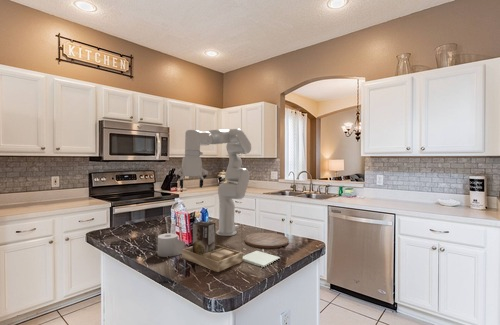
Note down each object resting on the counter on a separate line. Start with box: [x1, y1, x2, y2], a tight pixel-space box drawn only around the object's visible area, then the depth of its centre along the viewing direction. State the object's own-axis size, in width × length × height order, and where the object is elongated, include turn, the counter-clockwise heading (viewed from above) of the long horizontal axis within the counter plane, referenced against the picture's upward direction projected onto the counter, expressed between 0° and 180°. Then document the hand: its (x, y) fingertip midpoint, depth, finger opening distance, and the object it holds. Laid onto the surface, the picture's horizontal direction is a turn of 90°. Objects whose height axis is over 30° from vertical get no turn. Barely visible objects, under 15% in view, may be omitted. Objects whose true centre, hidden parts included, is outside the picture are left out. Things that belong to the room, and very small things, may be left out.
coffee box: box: [192, 220, 217, 255], centre depth 129 cm, size 9×6×16 cm
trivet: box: [244, 232, 290, 249], centre depth 155 cm, size 25×25×2 cm
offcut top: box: [210, 249, 234, 261], centre depth 122 cm, size 9×6×2 cm
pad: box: [242, 250, 281, 268], centre depth 127 cm, size 13×14×1 cm
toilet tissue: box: [157, 232, 186, 258], centre depth 133 cm, size 9×13×9 cm
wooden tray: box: [181, 243, 244, 273], centre depth 125 cm, size 16×24×4 cm, turn 51°
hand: (191, 187), depth 139 cm, fingers open, 9 cm apart
